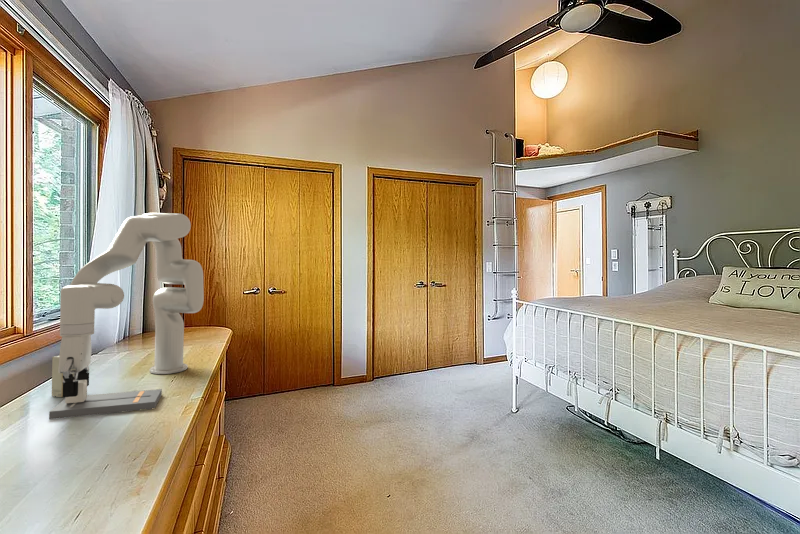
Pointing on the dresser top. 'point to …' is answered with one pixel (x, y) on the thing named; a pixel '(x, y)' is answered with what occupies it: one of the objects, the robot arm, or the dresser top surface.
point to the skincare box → (57, 378)
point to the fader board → (108, 404)
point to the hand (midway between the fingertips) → (76, 391)
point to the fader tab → (79, 393)
